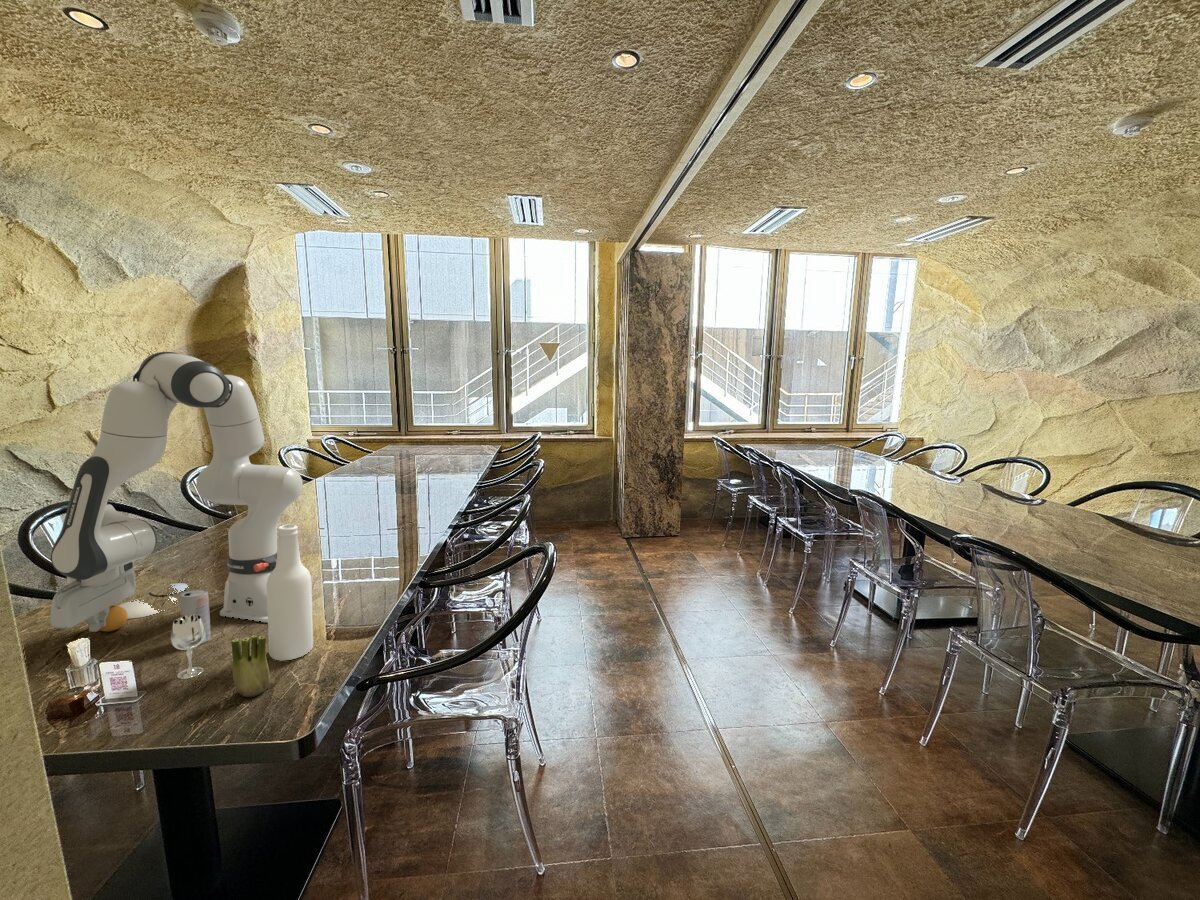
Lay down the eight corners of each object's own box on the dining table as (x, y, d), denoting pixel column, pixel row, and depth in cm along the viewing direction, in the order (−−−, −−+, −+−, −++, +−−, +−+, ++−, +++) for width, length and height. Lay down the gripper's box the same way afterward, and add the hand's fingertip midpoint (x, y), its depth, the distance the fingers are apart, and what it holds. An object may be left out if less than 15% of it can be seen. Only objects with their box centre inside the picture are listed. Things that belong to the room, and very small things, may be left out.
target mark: (189, 602, 145) (189, 602, 145) (128, 623, 132) (128, 622, 132) (158, 593, 150) (158, 592, 150) (96, 612, 137) (96, 611, 137)
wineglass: (213, 666, 115) (211, 613, 114) (194, 681, 110) (191, 626, 108) (186, 665, 115) (183, 613, 113) (166, 680, 109) (162, 625, 108)
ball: (131, 629, 129) (134, 604, 130) (100, 634, 124) (103, 607, 125) (117, 628, 132) (120, 603, 133) (87, 632, 126) (90, 606, 127)
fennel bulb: (230, 697, 105) (227, 640, 103) (250, 683, 109) (247, 629, 108) (256, 701, 104) (253, 644, 102) (275, 687, 109) (272, 632, 107)
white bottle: (264, 651, 122) (259, 525, 118) (306, 639, 128) (303, 519, 124) (275, 667, 116) (269, 534, 112) (318, 653, 122) (315, 527, 118)
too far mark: (196, 587, 155) (196, 586, 155) (162, 598, 147) (162, 597, 147) (177, 581, 159) (177, 581, 159) (142, 592, 150) (142, 591, 150)
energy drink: (187, 637, 127) (184, 589, 125) (214, 634, 129) (211, 587, 127) (178, 648, 122) (175, 598, 120) (206, 644, 124) (203, 596, 122)
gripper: (71, 590, 113) (76, 651, 114) (139, 558, 133) (143, 610, 135) (37, 590, 112) (43, 651, 114) (111, 558, 132) (115, 611, 134)
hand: (97, 629), depth 124 cm, fingers closed
